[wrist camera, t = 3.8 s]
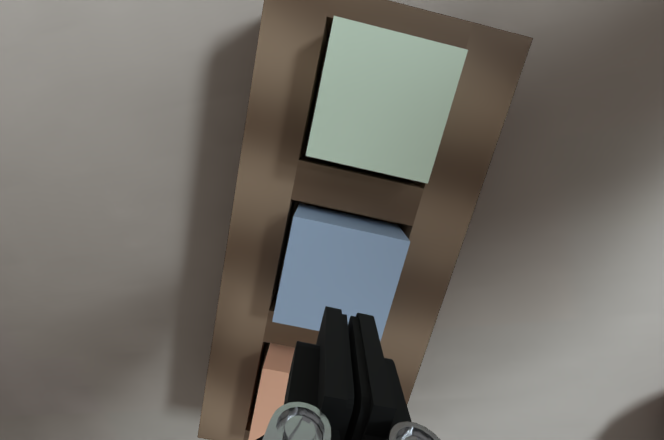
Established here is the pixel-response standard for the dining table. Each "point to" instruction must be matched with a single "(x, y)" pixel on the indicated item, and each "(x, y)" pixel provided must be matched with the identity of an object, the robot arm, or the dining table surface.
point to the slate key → (339, 267)
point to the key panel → (346, 191)
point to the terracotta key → (271, 387)
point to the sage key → (383, 100)
